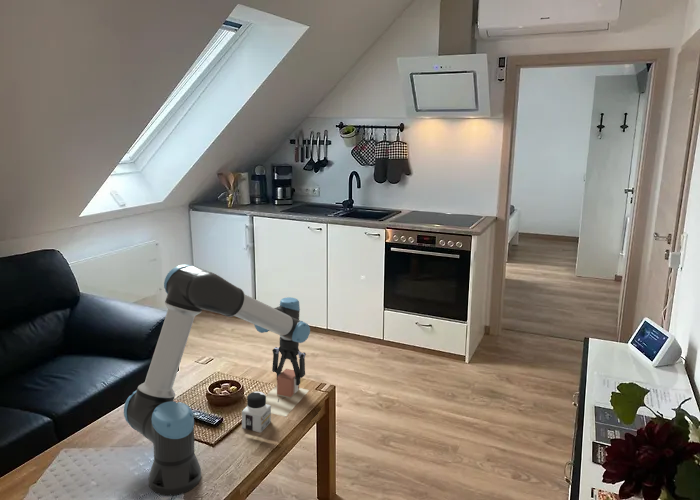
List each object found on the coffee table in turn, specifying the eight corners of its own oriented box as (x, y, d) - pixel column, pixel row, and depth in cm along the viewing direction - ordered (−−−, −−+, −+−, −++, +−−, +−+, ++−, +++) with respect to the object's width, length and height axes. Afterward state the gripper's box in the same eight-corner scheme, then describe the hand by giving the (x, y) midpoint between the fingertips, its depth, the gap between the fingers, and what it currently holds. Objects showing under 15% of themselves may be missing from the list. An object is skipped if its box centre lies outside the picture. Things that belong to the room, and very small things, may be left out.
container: (260, 435, 188) (261, 401, 185) (241, 430, 191) (241, 397, 188) (271, 424, 195) (271, 391, 192) (252, 419, 198) (252, 387, 195)
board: (285, 419, 199) (285, 416, 199) (252, 411, 203) (252, 408, 203) (309, 392, 219) (309, 389, 219) (278, 385, 224) (278, 383, 223)
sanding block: (290, 398, 211) (291, 380, 209) (277, 395, 213) (277, 377, 211) (299, 389, 219) (299, 371, 217) (285, 386, 221) (286, 368, 219)
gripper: (315, 337, 211) (313, 390, 216) (272, 329, 217) (271, 381, 222) (307, 344, 204) (306, 399, 209) (263, 335, 210) (262, 389, 215)
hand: (288, 389), depth 216 cm, fingers closed on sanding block, 6 cm apart
